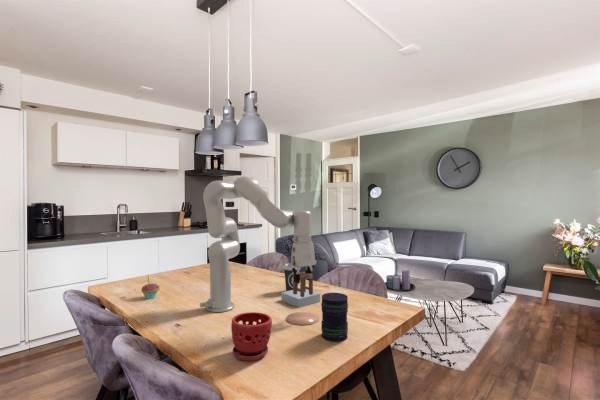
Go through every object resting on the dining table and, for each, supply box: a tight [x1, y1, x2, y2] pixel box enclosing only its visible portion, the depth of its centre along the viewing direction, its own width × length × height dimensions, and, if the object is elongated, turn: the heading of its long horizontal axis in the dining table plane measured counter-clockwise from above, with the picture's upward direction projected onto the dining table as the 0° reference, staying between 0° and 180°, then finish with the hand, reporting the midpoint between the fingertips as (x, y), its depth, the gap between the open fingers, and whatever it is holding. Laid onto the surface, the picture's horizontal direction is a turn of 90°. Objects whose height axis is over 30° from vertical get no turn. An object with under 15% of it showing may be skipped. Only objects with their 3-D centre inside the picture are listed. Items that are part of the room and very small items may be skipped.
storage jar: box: [320, 292, 349, 343], centre depth 118 cm, size 10×10×15 cm
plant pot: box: [230, 312, 273, 362], centre depth 104 cm, size 13×13×12 cm
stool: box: [293, 271, 314, 297], centre depth 135 cm, size 6×6×9 cm
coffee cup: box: [282, 262, 302, 292], centre depth 176 cm, size 10×10×15 cm
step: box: [280, 287, 321, 308], centre depth 160 cm, size 14×14×4 cm
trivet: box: [285, 311, 319, 326], centre depth 136 cm, size 14×14×1 cm
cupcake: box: [141, 274, 160, 300], centre depth 165 cm, size 9×8×12 cm
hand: (302, 281), depth 135 cm, fingers closed on stool, 6 cm apart
